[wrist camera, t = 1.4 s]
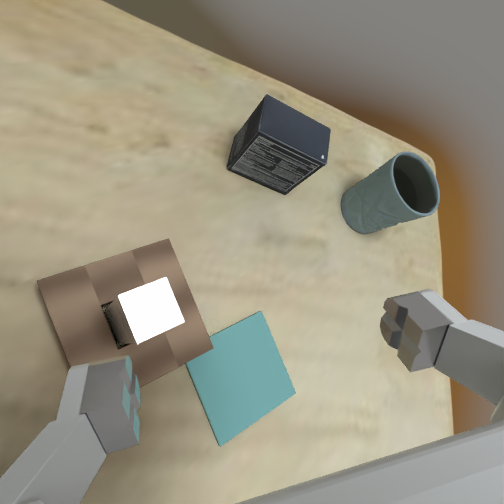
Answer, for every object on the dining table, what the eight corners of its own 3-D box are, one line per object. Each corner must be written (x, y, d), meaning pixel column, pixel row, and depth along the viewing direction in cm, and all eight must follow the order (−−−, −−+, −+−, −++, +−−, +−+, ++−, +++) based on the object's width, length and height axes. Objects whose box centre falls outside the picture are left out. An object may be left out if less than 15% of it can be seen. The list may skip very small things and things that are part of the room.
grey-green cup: (368, 249, 59) (430, 229, 49) (327, 211, 57) (383, 181, 47) (386, 208, 64) (446, 182, 53) (349, 172, 61) (405, 137, 51)
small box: (291, 161, 56) (333, 127, 47) (286, 196, 54) (328, 166, 45) (234, 134, 52) (267, 90, 43) (225, 170, 50) (258, 131, 41)
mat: (180, 351, 41) (181, 351, 41) (259, 311, 47) (261, 310, 47) (218, 445, 40) (220, 446, 40) (293, 392, 46) (296, 393, 46)
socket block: (39, 285, 36) (36, 280, 33) (163, 244, 43) (168, 238, 40) (88, 409, 35) (89, 414, 33) (205, 347, 42) (213, 348, 40)
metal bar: (105, 309, 38) (118, 295, 26) (139, 296, 40) (166, 277, 28) (118, 343, 38) (137, 343, 26) (152, 327, 40) (184, 321, 28)
